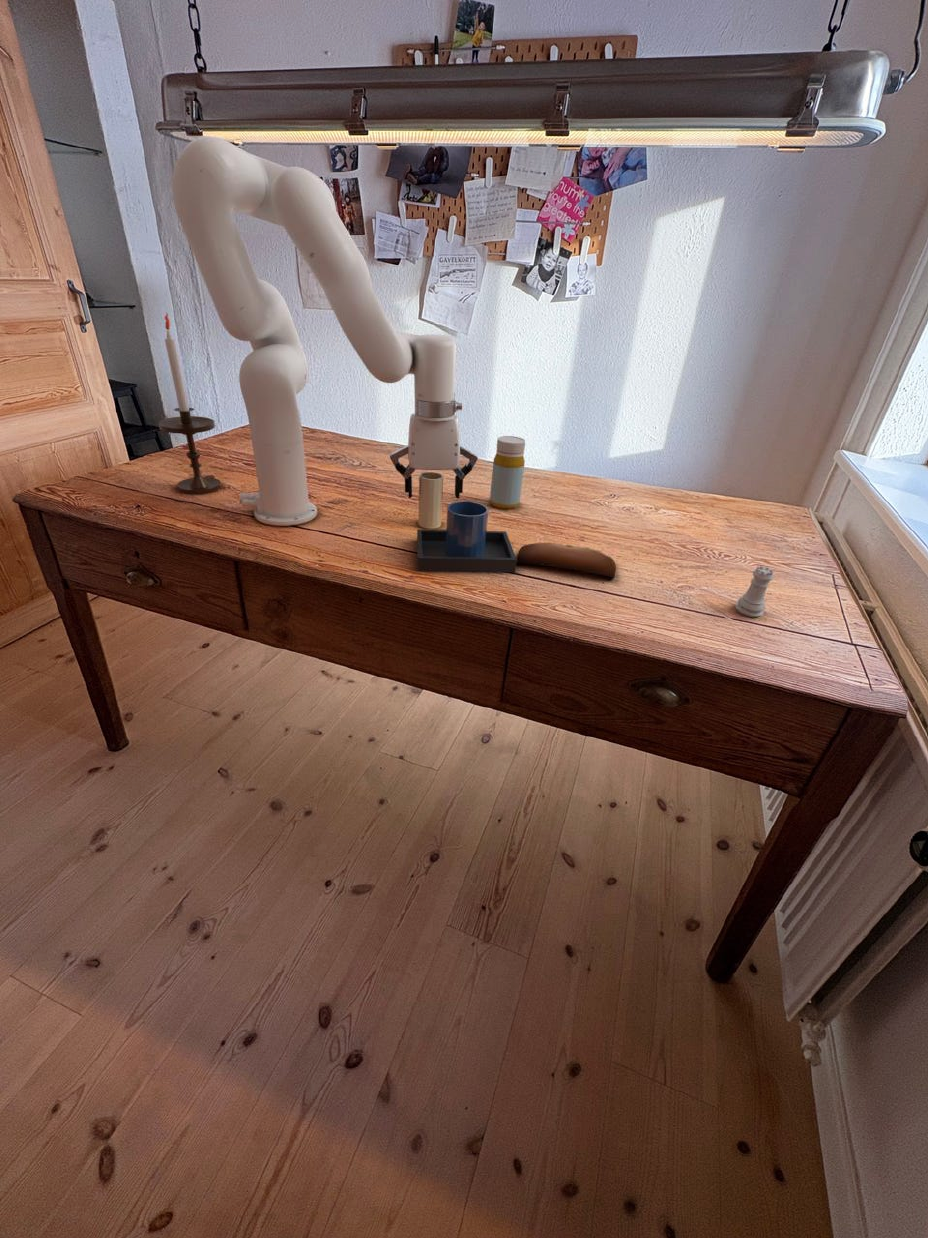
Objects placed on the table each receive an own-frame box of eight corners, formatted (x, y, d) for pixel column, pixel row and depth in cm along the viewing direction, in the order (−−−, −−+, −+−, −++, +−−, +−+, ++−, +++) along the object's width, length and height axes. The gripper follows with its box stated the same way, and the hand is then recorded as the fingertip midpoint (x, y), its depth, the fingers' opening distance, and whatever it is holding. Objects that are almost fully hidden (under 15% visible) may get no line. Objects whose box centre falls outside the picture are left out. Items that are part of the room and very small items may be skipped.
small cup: (418, 528, 113) (419, 478, 108) (418, 519, 117) (419, 471, 112) (441, 529, 114) (443, 479, 108) (440, 520, 118) (442, 472, 112)
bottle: (517, 511, 125) (525, 445, 117) (487, 507, 126) (493, 441, 118) (520, 501, 131) (528, 437, 123) (492, 497, 132) (498, 433, 124)
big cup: (446, 562, 100) (448, 515, 95) (444, 544, 106) (446, 500, 101) (486, 562, 100) (490, 516, 96) (481, 545, 107) (485, 501, 102)
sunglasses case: (614, 560, 105) (620, 539, 99) (610, 591, 102) (616, 571, 96) (522, 545, 108) (523, 525, 102) (515, 575, 105) (516, 555, 99)
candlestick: (195, 476, 130) (160, 309, 112) (235, 483, 128) (207, 313, 109) (162, 490, 121) (119, 311, 103) (204, 498, 119) (168, 316, 101)
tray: (418, 571, 97) (418, 557, 96) (417, 541, 108) (417, 529, 106) (515, 572, 99) (516, 559, 98) (504, 543, 110) (506, 531, 108)
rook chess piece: (738, 616, 91) (755, 573, 87) (731, 603, 95) (747, 561, 90) (766, 620, 91) (784, 577, 86) (758, 606, 94) (775, 565, 90)
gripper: (477, 405, 107) (473, 490, 116) (388, 403, 105) (391, 489, 114) (482, 414, 101) (477, 502, 110) (387, 412, 99) (390, 502, 108)
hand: (433, 496), depth 112 cm, fingers open, 9 cm apart
